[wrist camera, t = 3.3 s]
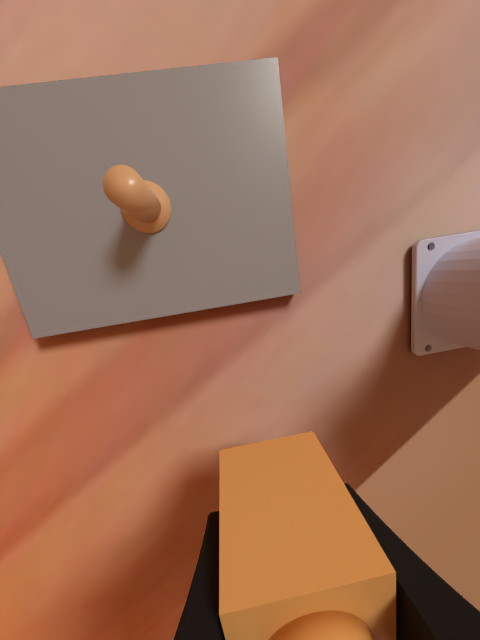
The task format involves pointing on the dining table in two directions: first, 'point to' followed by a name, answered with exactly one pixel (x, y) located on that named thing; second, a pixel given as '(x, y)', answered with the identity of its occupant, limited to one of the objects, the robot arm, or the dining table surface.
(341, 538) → the orange cube with sphere
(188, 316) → the dining table surface
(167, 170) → the plate
